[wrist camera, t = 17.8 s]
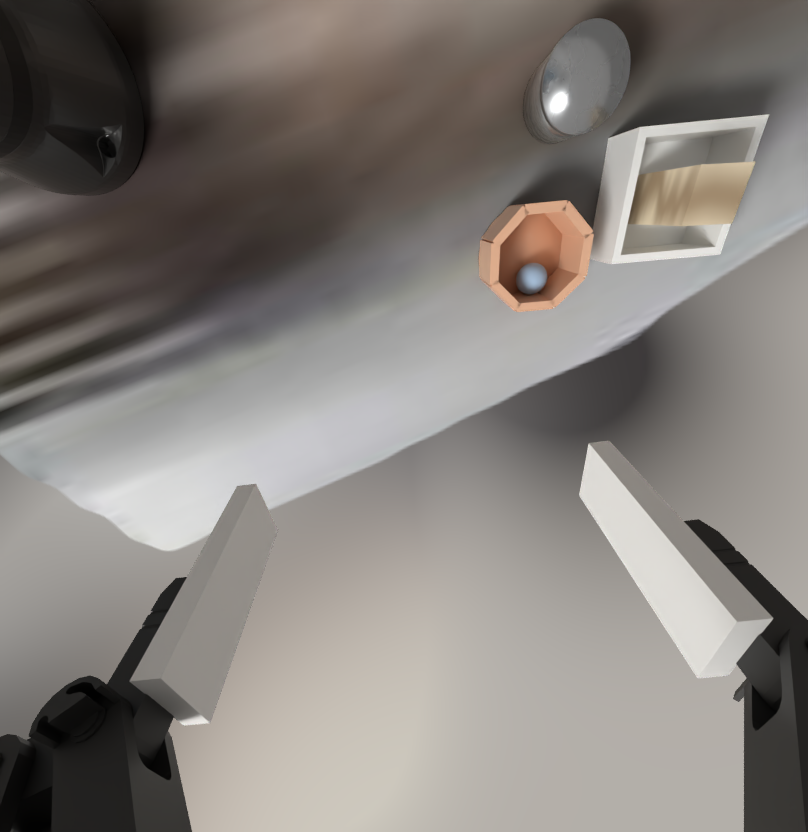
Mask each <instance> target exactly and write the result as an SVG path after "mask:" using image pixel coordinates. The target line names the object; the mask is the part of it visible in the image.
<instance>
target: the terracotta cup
mask: <svg viewBox="0 0 808 832" xmlns="http://www.w3.org/2000/svg"><path fill="white" fill-rule="evenodd" d="M592 232H593V230H592V229H591V227H590V226H589V225H588V224H587V222H586V221H585V220H584V219H583V217H582V216H581V215H580V214H579V212H578V211H577V210H576V209H575V207H574V206H573V205H572V203H571V202H570V201H567V200H561V201H549V202H538V203H528V204H518V205H510V206H508V207H507V208H506V209H505V210H504V211H503V213H502V214H501V215H499V216H498V217H497V218H496V219H495V220H494V221H493V222H492V224H491V225H490V226H489V228H488V229H487V231H486V233H485V234H484V235H483V236H482V237H481V238H482V240H480V249H479V258H478V259H479V269H480V274H479V277H480V278H481V280H482V281H483V282H484V283H485V284H486V285H487V286H488V287H489V288H490V289H491V290H492V291H493V292H494V293H495V294H496V295H497V296H498V297H499V298H500V299H501V300H502V301H503V302H504V303H505V304H507V305H508V306H509V307H510V308H511V309H513V310H514V311H516V312H522V311H533V310H544V309H553V307H556V306H557V305H558V304H559V303H560V302H561V301H563V300H564V299H565V298H566V297H567V296H568V295H569V294H570V293H571V292H572V291H573V290H574V289H575V288H576V287H577V286H578V285H579V284H580V283H581V282H582V281H583V280H584V279H585V277H584V276H587V271H588V266H589V260H590V254H591V248H592V242H593V237H594V234H592ZM529 263H538V264H541V265H542V266H543V267H544V268H545V270H546V272H547V281H546V284H545V286H544V287H543V288H542V289H541V290H540V291H539V292H537V293H535V294H525V293H523V292H521V291H520V290H519V289H518V287H517V285H516V276H517V274H518V272H519V270H520V269H521V268H522V267H523V266H524V265H526V264H529Z"/></svg>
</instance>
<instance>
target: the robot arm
mask: <svg viewBox="0 0 808 832" xmlns="http://www.w3.org/2000/svg"><path fill="white" fill-rule="evenodd" d="M143 141H144V118H143V110H142V104H141V99H140V95H139V91H138V88H137V85H136V81H135V78H134V76H133V73H132V71H131V68H130V66H129V64H128V61H127V59H126V57H125V55H124V53H123V51H122V49H121V47H120V46H119V44H118V42H117V40H116V39H115V37H114V35H113V34H112V32H111V31H110V29H109V28H108V26H107V25H106V23H105V22H104V21H103V19H102V18H101V17H100V15H99V14H98V13H97V12H96V10H95V9H94V8H93V7H92V5H91V4H90V3H89V2H88V1H87V0H0V172H3V173H5V174H7V175H9V176H12V177H14V178H16V179H18V180H21V181H23V182H25V183H27V184H30V185H32V186H34V187H37V188H40V189H43V190H47V191H51V192H55V193H60V194H69V195H86V196H91V195H100V194H104V193H108V192H110V191H113V190H115V189H116V188H118V187H120V186H121V185H122V184H123V183H125V182H126V181H127V180H128V179H129V177H130V176H131V175H132V173H133V172H134V170H135V168H136V166H137V164H138V162H139V159H140V156H141V152H142V148H143ZM579 496H580V497H581V499H582V500H583V502H584V503H585V505H586V506H587V508H588V510H589V511H590V513H591V514H592V516H593V517H594V519H595V520H596V522H597V523H598V525H599V527H600V528H601V530H602V531H603V533H604V534H605V536H606V537H607V539H608V541H609V542H610V544H611V545H612V547H613V548H614V550H615V551H616V553H617V554H618V556H619V557H620V559H621V561H622V562H623V564H624V565H625V567H626V568H627V570H628V571H629V573H630V574H631V576H632V578H633V579H634V581H635V582H636V584H637V585H638V587H639V588H640V590H641V592H642V593H643V594H644V596H645V598H646V599H647V601H648V602H649V604H650V605H651V607H652V608H653V610H654V612H655V613H656V615H657V616H658V618H659V619H660V621H661V622H662V624H663V625H664V627H665V629H666V630H667V632H668V633H669V635H670V636H671V638H672V639H673V641H674V643H675V644H676V646H677V647H678V649H679V650H680V652H681V653H682V655H683V656H684V658H685V660H686V661H687V663H688V664H689V666H690V667H691V669H692V670H693V672H694V673H695V675H696V676H697V678H707V677H718V676H728V675H729V674H730V672H731V671H732V670H733V669H734V667H735V666H736V665H738V667H739V668H740V669H741V670H742V672H743V673H744V675H745V676H746V677H747V679H746V680H745V681H744V682H743V683H742V684H741V686H740V687H739V688H738V689H737V690H736V691H735V694H734V698H733V699H734V700H736V701H738V702H739V701H740V700H741V699H742V698H743V697H744V832H808V620H807V619H806V618H805V617H804V616H803V615H802V614H801V613H800V612H799V611H798V610H797V609H796V608H795V607H794V606H793V605H792V604H791V603H790V602H789V601H788V600H787V599H786V598H785V597H784V596H783V595H782V594H781V593H780V592H779V591H778V590H776V588H775V587H773V585H772V584H770V582H769V581H768V580H766V578H764V576H763V575H762V574H761V573H759V571H757V569H756V568H754V566H752V565H750V564H749V563H748V561H747V559H746V558H745V557H744V556H743V555H741V554H740V553H739V552H738V551H736V550H735V548H734V547H733V546H732V545H731V544H730V543H729V542H728V541H727V540H726V539H725V538H724V537H723V536H722V535H721V534H720V533H719V532H718V531H716V530H715V529H713V528H712V527H710V526H708V525H707V524H705V523H704V522H702V521H700V520H690V521H683V520H682V519H681V518H680V517H679V516H678V515H677V514H676V512H675V511H674V510H673V509H672V508H671V507H670V506H669V505H668V504H667V503H666V502H665V501H664V499H662V497H661V496H660V495H659V494H658V493H657V492H656V491H655V490H654V489H653V488H652V487H651V486H650V484H649V483H648V482H647V481H646V480H645V479H644V478H643V477H642V476H641V475H640V474H639V473H638V471H636V469H635V468H634V467H633V466H632V465H631V464H630V463H629V462H628V461H627V459H626V458H625V457H624V456H623V455H622V454H621V453H620V452H619V451H618V450H617V449H616V448H615V447H614V445H613V444H612V443H611V442H610V441H603V442H595V443H589V445H588V451H587V456H586V462H585V467H584V472H583V478H582V483H581V489H580V494H579ZM277 532H278V529H277V527H276V525H275V523H274V521H273V519H272V516H271V514H270V512H269V510H268V508H267V506H266V504H265V502H264V500H263V498H262V496H261V493H260V491H259V489H258V487H257V485H256V484H251V485H242V486H237V488H236V489H235V491H234V493H233V495H232V497H231V498H230V500H229V502H228V504H227V506H226V508H225V509H224V511H223V513H222V515H221V517H220V518H219V520H218V522H217V524H216V526H215V527H214V529H213V531H212V533H211V535H210V536H209V538H208V540H207V542H206V544H205V546H204V547H203V549H202V551H201V553H200V555H199V557H198V558H197V560H196V562H195V564H194V565H193V567H192V569H191V571H190V573H189V575H188V577H184V578H176V579H175V580H174V581H173V582H172V583H171V584H170V585H169V586H168V587H167V588H166V589H165V590H164V591H163V592H162V594H161V595H160V597H159V598H158V600H157V601H156V603H155V605H154V606H153V608H152V610H151V614H150V615H148V616H147V618H146V620H145V622H144V623H143V625H142V629H140V630H139V632H138V633H137V635H136V637H135V638H134V640H133V642H132V643H131V645H130V647H129V648H128V650H127V652H126V653H125V655H124V657H123V658H122V660H121V662H120V663H119V665H118V667H117V668H116V670H115V672H114V673H113V675H112V677H111V679H110V680H109V682H108V684H107V685H106V684H105V683H104V682H102V681H101V680H100V679H98V678H96V677H93V676H87V677H82V678H79V679H77V680H75V681H73V682H72V683H70V684H68V685H66V686H65V687H64V688H62V689H61V690H60V691H59V692H57V693H56V694H55V695H54V696H53V697H52V698H51V699H50V700H49V701H48V702H47V703H46V704H45V706H44V707H43V708H42V709H41V711H40V712H39V714H38V715H37V717H36V718H35V720H34V722H33V723H32V726H31V730H30V733H29V737H31V738H30V739H28V740H25V739H23V738H21V737H19V736H17V735H10V734H7V735H4V736H1V737H0V832H192V830H191V825H190V820H189V816H188V811H187V807H186V802H185V797H184V792H183V788H182V784H181V779H180V774H179V769H178V765H177V760H176V755H175V751H174V746H173V741H172V737H171V736H170V734H169V732H168V729H169V727H170V724H171V722H172V720H173V717H174V718H175V719H176V720H178V721H179V722H180V723H181V724H182V725H193V724H204V723H210V722H211V719H212V716H213V713H214V710H215V708H216V705H217V702H218V699H219V696H220V694H221V691H222V688H223V685H224V682H225V679H226V677H227V674H228V671H229V668H230V665H231V662H232V659H233V657H234V654H235V651H236V648H237V645H238V643H239V640H240V637H241V634H242V631H243V628H244V626H245V623H246V620H247V617H248V614H249V611H250V608H251V606H252V603H253V600H254V597H255V594H256V591H257V588H258V586H259V583H260V580H261V577H262V574H263V571H264V569H265V566H266V563H267V560H268V557H269V554H270V551H271V549H272V546H273V543H274V540H275V537H276V534H277Z"/></svg>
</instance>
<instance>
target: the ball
mask: <svg viewBox="0 0 808 832" xmlns="http://www.w3.org/2000/svg"><path fill="white" fill-rule="evenodd" d="M546 281H547V272H546V270H545V268H544V267H543V266H542V265H541V264H538V263H529V264H526V265H524V266H523V267H522V268H521V269H520V270H519V272H518V274H517V276H516V285H517V287H518V289H519V290H520V291H521V292H523V293H525V294H535V293H537V292H539V291H540V290H541V289H542V288H543V287H544V286H545V284H546Z"/></svg>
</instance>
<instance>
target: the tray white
mask: <svg viewBox="0 0 808 832" xmlns="http://www.w3.org/2000/svg"><path fill="white" fill-rule="evenodd" d="M768 117H769V114H768V115H758V116H747V117H737V118H727V119H717V120H707V121H696V122H686V123H676V124H666V125H655V126H645V127H639V128H636V129H633V130H630V131H627V132H625V133H622V134H619V135H616V136H613V137H611V138H608V144H607V150H606V156H605V161H604V167H603V173H602V179H601V184H600V190H599V196H598V202H597V208H596V213H595V219H594V225H593V232H592V234H594V237H593V242H592V248H591V254H590V259H592V260H596V261H600V262H605V263H609V264H617V263H629V262H640V261H651V260H663V259H674V258H685V257H697V256H708V255H719V254H720V253H721V251H722V248H723V245H724V242H725V239H726V236H727V234H728V231H729V228H730V225H731V224H714V225H695V226H665V225H639V224H628V220H629V215H630V210H631V206H632V201H633V197H634V192H635V187H636V183H637V178H638V175H641V174H647V173H653V172H659V171H665V170H671V169H677V168H683V167H689V166H695V165H701V164H720V163H739V162H753V159H754V157H755V154H756V151H757V148H758V145H759V142H760V139H761V137H762V134H763V131H764V128H765V125H766V122H767V120H768Z"/></svg>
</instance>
